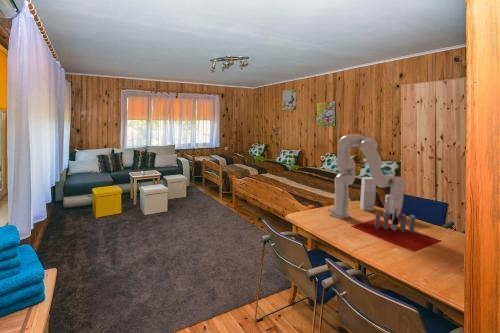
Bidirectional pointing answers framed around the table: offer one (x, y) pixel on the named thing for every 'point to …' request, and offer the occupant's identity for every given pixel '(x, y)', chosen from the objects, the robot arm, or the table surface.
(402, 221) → the domino
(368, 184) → the box
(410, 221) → the domino
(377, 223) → the domino
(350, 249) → the table surface
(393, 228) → the domino
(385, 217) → the domino
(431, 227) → the table surface
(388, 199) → the candy bar box
